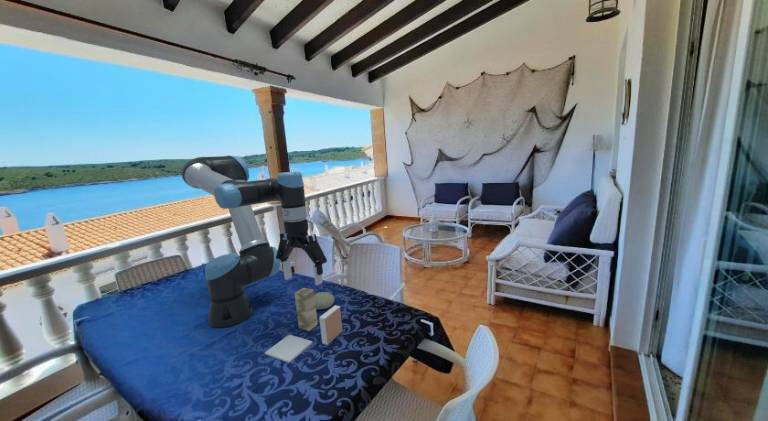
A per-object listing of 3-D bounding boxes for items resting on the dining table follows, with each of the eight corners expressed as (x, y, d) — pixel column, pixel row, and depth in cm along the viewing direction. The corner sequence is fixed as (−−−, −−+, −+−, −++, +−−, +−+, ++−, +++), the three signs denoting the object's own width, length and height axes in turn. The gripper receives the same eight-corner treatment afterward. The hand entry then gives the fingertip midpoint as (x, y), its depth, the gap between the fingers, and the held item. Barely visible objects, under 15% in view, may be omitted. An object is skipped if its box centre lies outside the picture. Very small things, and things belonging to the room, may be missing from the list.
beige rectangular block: (299, 328, 103) (294, 293, 100) (307, 321, 107) (303, 287, 104) (309, 331, 101) (304, 295, 98) (317, 324, 104) (313, 289, 102)
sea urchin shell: (331, 307, 112) (315, 292, 112) (319, 320, 114) (303, 306, 114) (339, 295, 121) (325, 282, 121) (328, 308, 123) (313, 295, 123)
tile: (322, 343, 93) (319, 317, 92) (337, 330, 100) (335, 305, 99) (327, 345, 92) (324, 318, 91) (342, 331, 99) (340, 306, 98)
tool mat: (264, 354, 90) (264, 352, 90) (289, 336, 98) (289, 334, 98) (289, 363, 85) (289, 361, 85) (312, 343, 94) (312, 341, 94)
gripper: (259, 220, 99) (268, 280, 103) (317, 223, 88) (325, 291, 91) (277, 216, 106) (284, 272, 110) (333, 218, 94) (340, 281, 98)
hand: (303, 281), depth 100 cm, fingers open, 13 cm apart
